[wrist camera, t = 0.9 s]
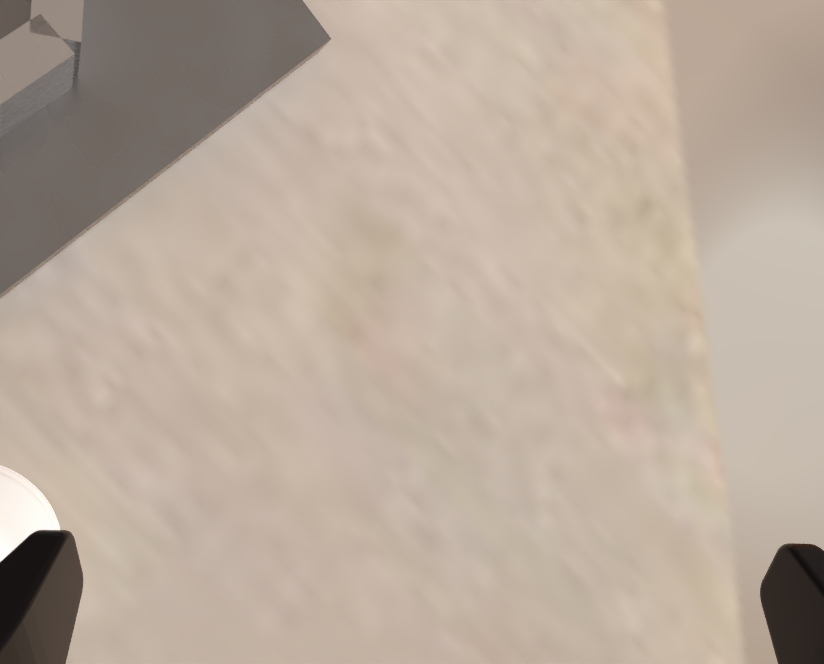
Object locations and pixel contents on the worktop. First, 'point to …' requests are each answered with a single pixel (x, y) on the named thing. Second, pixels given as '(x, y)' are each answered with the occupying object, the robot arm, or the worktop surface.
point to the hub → (121, 102)
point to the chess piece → (21, 511)
